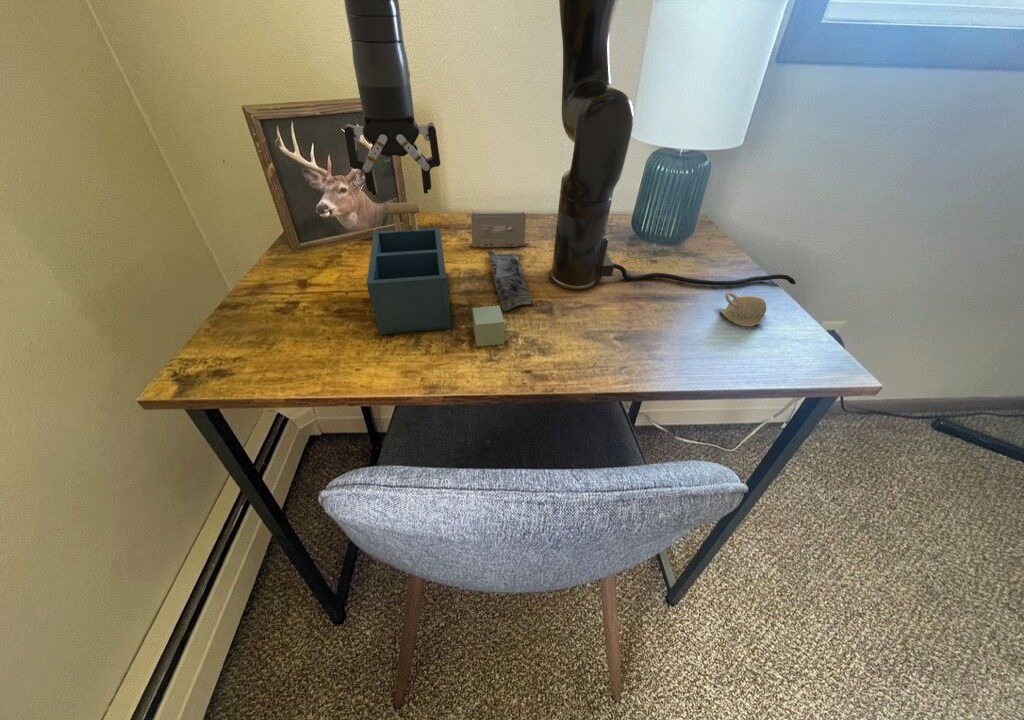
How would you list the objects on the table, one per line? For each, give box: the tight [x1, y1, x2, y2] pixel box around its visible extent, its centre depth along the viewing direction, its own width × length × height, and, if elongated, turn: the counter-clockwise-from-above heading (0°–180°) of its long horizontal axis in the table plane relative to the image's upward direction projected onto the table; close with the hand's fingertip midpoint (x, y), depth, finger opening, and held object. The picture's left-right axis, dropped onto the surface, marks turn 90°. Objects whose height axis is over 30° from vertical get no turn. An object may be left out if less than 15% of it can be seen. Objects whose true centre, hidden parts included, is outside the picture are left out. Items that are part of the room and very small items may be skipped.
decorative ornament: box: [720, 291, 767, 328], centre depth 72 cm, size 4×8×5 cm, turn 78°
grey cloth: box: [486, 250, 535, 311], centre depth 81 cm, size 21×7×2 cm, turn 8°
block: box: [471, 305, 505, 348], centre depth 67 cm, size 5×5×5 cm
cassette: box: [470, 211, 527, 248], centre depth 90 cm, size 12×2×8 cm, turn 95°
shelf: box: [366, 201, 452, 336], centre depth 70 cm, size 18×12×15 cm, turn 11°
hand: (400, 192), depth 70 cm, fingers open, 8 cm apart
